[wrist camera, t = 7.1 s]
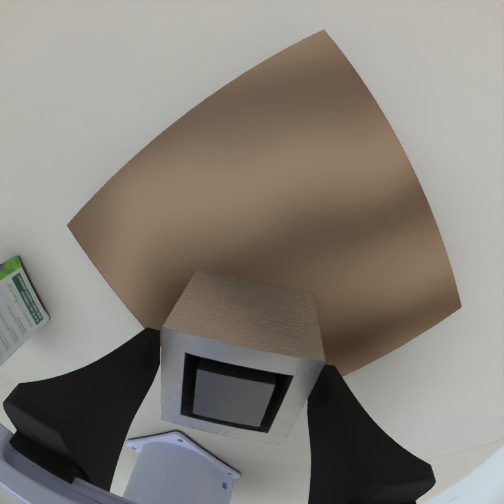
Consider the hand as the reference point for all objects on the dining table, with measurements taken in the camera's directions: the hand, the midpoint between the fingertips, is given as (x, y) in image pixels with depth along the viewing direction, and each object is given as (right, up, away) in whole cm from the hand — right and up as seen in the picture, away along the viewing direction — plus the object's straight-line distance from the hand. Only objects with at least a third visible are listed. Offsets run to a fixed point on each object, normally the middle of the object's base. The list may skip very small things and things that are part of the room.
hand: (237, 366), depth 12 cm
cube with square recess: (0, +1, +3) cm, 3 cm away
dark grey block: (0, +1, +3) cm, 3 cm away
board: (+2, +5, +3) cm, 6 cm away
